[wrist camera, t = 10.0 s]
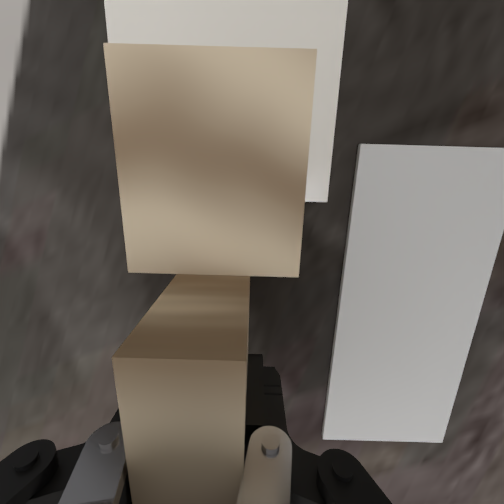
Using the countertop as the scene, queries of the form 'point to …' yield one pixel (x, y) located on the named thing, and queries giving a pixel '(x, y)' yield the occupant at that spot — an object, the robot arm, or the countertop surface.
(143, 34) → the tile
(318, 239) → the countertop surface
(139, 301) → the countertop surface
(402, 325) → the mat
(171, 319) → the turner
